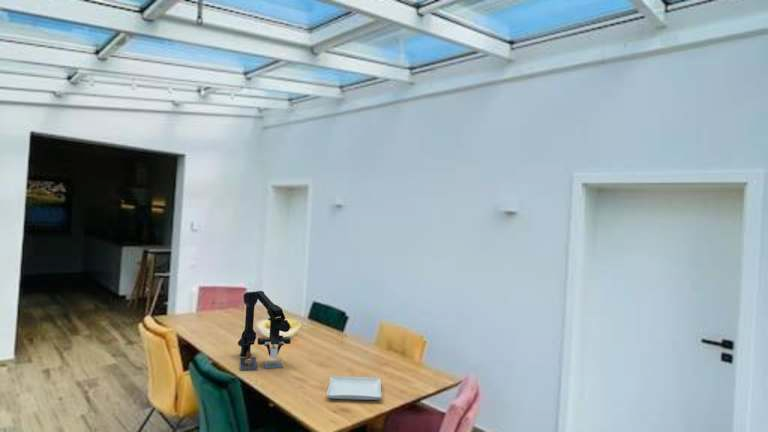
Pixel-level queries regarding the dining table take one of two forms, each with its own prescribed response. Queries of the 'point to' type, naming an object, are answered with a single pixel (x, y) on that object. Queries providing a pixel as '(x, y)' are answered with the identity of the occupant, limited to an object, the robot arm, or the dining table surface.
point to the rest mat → (273, 364)
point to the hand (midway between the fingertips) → (273, 355)
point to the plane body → (248, 363)
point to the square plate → (354, 388)
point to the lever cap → (273, 351)
